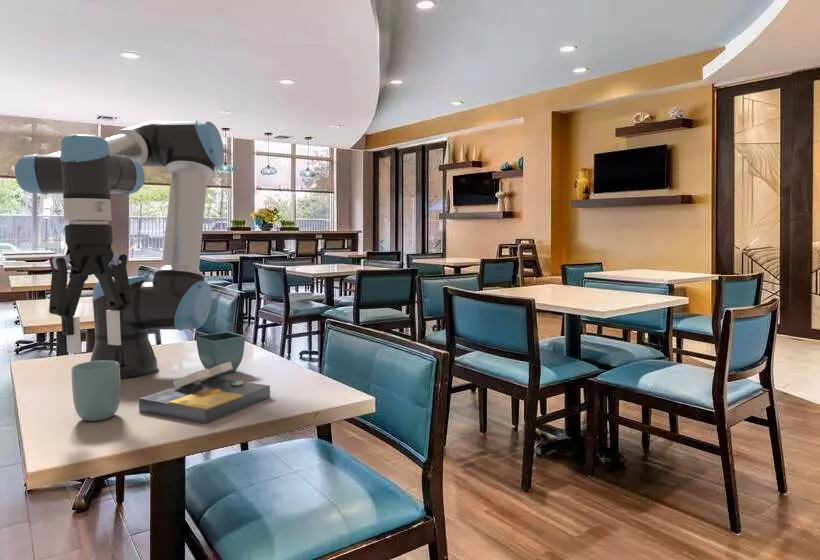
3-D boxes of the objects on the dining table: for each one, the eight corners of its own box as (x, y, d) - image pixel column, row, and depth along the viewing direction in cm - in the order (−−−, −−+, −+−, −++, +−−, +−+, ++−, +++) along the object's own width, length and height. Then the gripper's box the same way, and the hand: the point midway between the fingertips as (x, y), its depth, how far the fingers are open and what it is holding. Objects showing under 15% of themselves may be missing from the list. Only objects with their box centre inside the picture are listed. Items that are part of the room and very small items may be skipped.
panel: (139, 411, 112) (138, 394, 111) (208, 387, 128) (207, 373, 127) (206, 423, 104) (206, 406, 104) (271, 397, 120) (270, 381, 120)
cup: (86, 411, 111) (83, 360, 110) (128, 410, 112) (126, 359, 111) (66, 425, 104) (62, 370, 103) (111, 424, 104) (108, 369, 103)
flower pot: (247, 371, 142) (246, 335, 141) (213, 378, 136) (212, 340, 135) (228, 366, 148) (227, 331, 147) (196, 372, 142) (194, 336, 141)
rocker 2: (199, 381, 123) (196, 373, 123) (210, 378, 126) (207, 370, 126) (222, 371, 120) (219, 363, 120) (233, 368, 123) (230, 360, 123)
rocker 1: (175, 389, 117) (172, 380, 117) (187, 385, 120) (184, 377, 120) (198, 379, 114) (195, 371, 114) (210, 375, 117) (207, 367, 117)
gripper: (46, 222, 94) (54, 361, 96) (150, 223, 112) (155, 340, 114) (17, 223, 97) (26, 357, 99) (123, 223, 115) (128, 337, 117)
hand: (95, 348), depth 107 cm, fingers open, 7 cm apart
